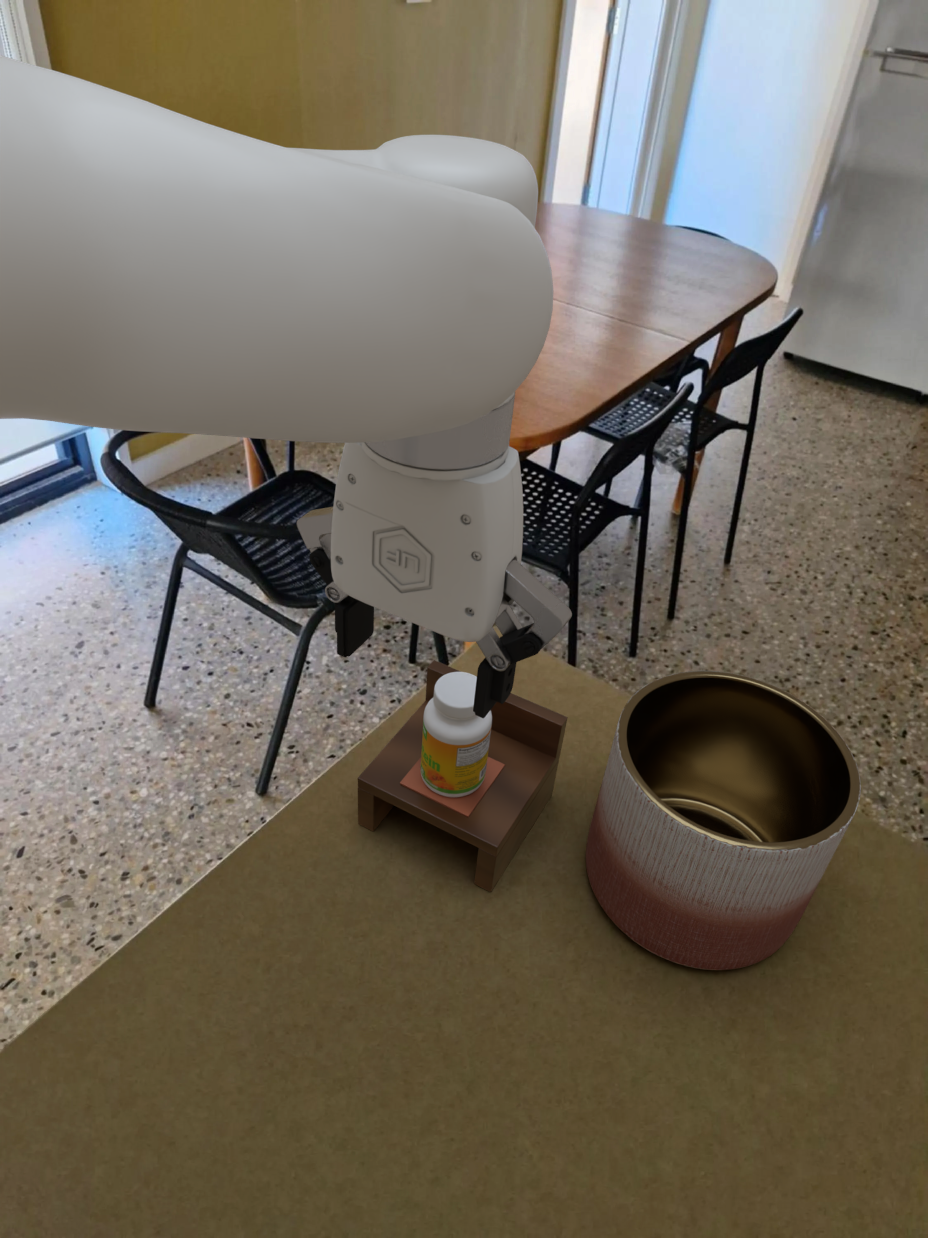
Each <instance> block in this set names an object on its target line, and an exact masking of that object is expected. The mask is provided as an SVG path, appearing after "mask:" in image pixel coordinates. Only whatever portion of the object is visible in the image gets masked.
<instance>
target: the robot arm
mask: <svg viewBox="0 0 928 1238" xmlns="http://www.w3.org/2000/svg"><path fill="white" fill-rule="evenodd" d="M538 201H539V185H538V179H537V175H536V173H535V169H534V167H533V165H532V164H531V162H530V161H529V160H528V159H527V157H525V155H524V154H522V153H521V152H519V151H517V150H515V149H513V148H511V147H509V146H507V145H504V144H502V143H499V142H496V141H495V142H494V141H491V140H487V139H481V138H476V137H469V136H460V135H449V134H414V135H413V134H411V135H405V136H401V137H397V138H393V139H390V140H388V141H385V142H384V143H382V144H381V145H379V146H378V147H377V148H375V149H318V148H317V149H316V148H303V147H285V146H282V145H278V144H275V143H272V142H269V141H265V140H261V139H258V138H255V137H251V136H248V135H245V134H242V133H239V132H235V131H232V130H229V129H226V128H223V127H221V126H216V125H214V124H210V123H207V122H204V121H202V120H199V119H196V118H193V117H190V116H188V115H185V114H182V113H179V112H176V111H174V110H171V109H168V108H165V107H163V106H160V105H158V104H155V103H153V102H150V101H147V100H144V99H142V98H139V97H136V96H133V95H130V94H127V93H125V92H121V91H118V90H115V89H112V88H111V87H106V86H103V85H101V84H98V83H95V82H92V81H89V80H86V79H83V78H81V77H78V76H74V75H71V74H67V73H63V72H61V71H57V70H53V69H51V68H48V67H47V68H46V67H42V66H39V65H35V64H33V63H32V64H31V63H28V62H25V61H21V60H18V59H15V58H11V57H8V56H6V55H5V56H4V55H2V54H0V420H10V419H11V420H13V419H15V420H16V419H17V420H18V419H27V420H37V421H46V422H47V421H48V422H54V423H60V424H61V423H62V424H67V425H74V426H75V425H76V426H83V427H89V428H99V429H108V430H117V431H118V430H119V431H129V432H145V433H146V432H149V433H170V434H189V435H201V436H202V435H204V436H218V437H219V436H220V437H233V438H244V439H245V438H246V439H258V440H259V439H260V440H272V441H287V442H302V443H303V442H304V443H323V444H324V443H325V444H327V443H329V444H331V443H333V444H337V443H338V444H344V445H343V448H342V453H341V457H340V462H339V466H338V472H337V477H336V483H335V490H334V498H333V506H328V507H323V508H317V509H311V510H309V511H307V513H305V514H303V515H302V516H301V517H300V518H298V519H297V521H296V527H297V530H298V532H299V534H300V536H301V538H302V540H303V543H304V545H305V547H306V549H307V550H309V553H310V554H309V556H308V557H309V558H308V559H309V563H310V564H311V566H312V567H313V569H314V570H315V571H316V572H317V573H318V575H319V576H320V577H321V579H322V580H323V582H324V584H326V587H324V593H325V596H326V597H327V599H328V600H329V601H330V602H333V603H334V631H335V633H336V654H337V655H338V656H340V657H343V658H347V657H348V658H349V657H351V656H352V655H353V654H354V653H355V652H357V650H358V649H359V648H360V647H362V645H363V644H365V643H366V641H368V640H369V639H370V638H371V637H372V636H373V634H374V631H375V630H374V629H375V609H378V610H381V611H382V612H385V613H388V614H389V615H392V616H395V617H397V618H399V619H402V620H404V621H406V622H410V623H412V624H415V625H416V626H419V627H422V628H424V629H427V630H429V631H432V632H434V633H437V634H439V635H441V636H444V637H447V638H449V639H451V640H452V639H453V640H454V641H455V640H456V641H459V642H465V643H476V645H477V646H478V648H479V649H480V651H481V653H482V654H483V656H484V658H483V659H482V661H481V662H480V663H479V665H478V667H477V673H476V676H477V680H476V689H475V697H474V706H473V712H475V715H477V716H479V717H481V718H485V716H486V715H487V714H488V713H489V711H490V710H491V709H492V707H493V706H494V705H495V704H496V702H499V703H501V704H503V703H504V702H505V701H506V699H507V698H508V697H509V695H510V693H512V690H513V687H514V681H515V675H516V668H517V663H518V662H521V661H523V660H526V659H529V658H531V657H534V656H536V655H538V654H539V652H540V651H541V650H542V649H543V648H545V646H547V645H548V644H549V643H550V642H551V641H552V640H553V639H554V638H555V637H557V635H559V634H560V632H562V630H563V629H564V627H566V625H567V624H568V622H569V621H570V620H571V618H572V617H573V613H572V610H571V609H570V607H569V606H568V605H567V604H566V603H564V602H563V601H562V600H561V599H560V598H559V597H558V596H557V595H555V593H553V592H552V591H551V590H550V589H549V588H548V587H547V586H545V584H543V583H542V581H540V580H539V579H538V578H537V577H535V576H534V575H533V574H532V573H531V572H530V571H529V570H527V568H525V566H523V564H522V555H523V541H524V540H523V539H524V497H523V496H524V495H523V494H524V492H523V482H522V479H523V478H522V471H521V462H520V456H519V451H518V450H517V449H515V448H514V447H512V446H510V441H511V432H512V424H513V423H512V422H513V415H514V408H515V407H514V406H515V399H516V391H517V390H518V389H519V387H520V386H521V385H522V384H523V383H524V381H525V380H526V379H527V377H528V376H529V374H530V373H531V371H532V370H533V368H534V366H535V365H536V363H537V361H538V359H539V358H540V355H541V353H542V350H543V349H544V346H545V344H546V340H547V336H548V334H549V331H550V327H551V320H552V316H553V310H554V282H553V281H554V280H553V271H552V267H551V263H550V259H549V254H548V251H547V249H546V247H545V243H544V242H543V240H542V237H541V235H540V233H538V230H536V221H537V214H538V203H539V202H538ZM514 602H515V603H516V604H517V605H518V606H519V607H520V608H521V609H522V610H524V611H525V612H526V613H527V614H528V615H529V616H530V617H531V618H532V620H533V623H530V624H527V625H526V626H522V624H521V622H520V620H519V618H518V616H517V615H516V613H515V612H514V610H513V608H512V607H511V606H512V604H514ZM494 625H495V626H496V627H497V629H498V631H499V632H500V634H501V636H500V637H499V635H498V633H497V631H496V629H495V628H494Z"/></svg>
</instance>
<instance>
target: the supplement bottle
mask: <svg viewBox="0 0 928 1238" xmlns="http://www.w3.org/2000/svg"><path fill="white" fill-rule="evenodd" d="M476 680H477V675H475V674H472V673H470V672H465V671H461V672H452V673H448V674H445V675H443V676H442V677H441V678H439V679H438V681H437V682H436V684H435V687H434V697H433V698H432V699H431V700H430V701H429V702H428V704H427V705H426V707H425V710H424V718H423V736H422V753H421V776H422V779H423V781H424V783H425V784H426V785H427V787H428V788H430V789H431V790H432V791H434V792H435V793H437V794H439V795H442V796H446V797H462V796H466V795H469V794H471V793H473V792H474V791H476V790H477V789H478V788H479V787H480V786H481V784H482V783H483V781H484V778H485V773H486V766H487V758H488V750H489V742H490V734H491V726H492V714H491V710H490V711H489V713H488V714H487V715H486V716H485V718H481V717H479V716H477V715H475V712H473V706H474V697H475V689H476Z"/></svg>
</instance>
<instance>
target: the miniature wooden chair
mask: <svg viewBox="0 0 928 1238" xmlns="http://www.w3.org/2000/svg"><path fill="white" fill-rule="evenodd" d="M452 672H462V670H459V669H456V668H453V667H451V666H449V665H448V664H445V663H442V662H440V661H439V660H438V661H437V660H435V659H433V661H432V662H431V663H430V664H429V665H428V666H427V667H426V685H425V700H424V701H423V703H422V704H421V705H420V706H419V707H418V708H417V709H416V710H415V712H414V713H413V714H412V715H411V716H410V717H409V718H408V720H407V721H406V722H405V723H404V724H403V725H402V726H401V728H399V730H398V731H397V732H396V733H395V734H394V735H393V737H392V738H391V739H390V741H389V742H388V743H386V745H385V746H384V747H383V748H382V749H381V751H380V752H379V753H378V754H377V755H376V756H375V758H374V759H373V760H372V761H371V762H370V763H369V764H368V765H367V767H366V768H365V769H364V770H363V771H362V772H361V774H360V775H358V777H357V824H358V825H360V826H362V827H363V828H365V829H367V830H369V831H371V832H374V831H376V829H377V828H378V826H379V825H380V824H381V823H382V821H383V820H384V819H385V818H386V817H387V815H388V814H389V813H390V811H392V809H393V808H394V807H397V808H398V809H400V810H402V811H404V812H406V813H408V814H410V815H412V816H414V817H416V818H417V819H420V820H422V821H424V822H426V823H428V824H430V825H432V826H434V827H436V828H438V829H440V830H441V831H444V832H446V833H447V834H449V835H452V836H454V837H456V838H458V839H460V840H462V841H463V842H466V843H468V844H470V845H472V846H474V847H476V848H477V849H478V851H477V858H476V866H475V874H474V881H473V884H474V885H475V886H477V887H479V888H481V889H483V890H485V891H487V892H489V893H491V892H492V891H493V890H494V888H495V887H496V885H497V883H498V882H499V881H500V879H501V877H502V876H503V874H504V872H505V871H506V869H507V867H509V864H510V863H511V861H512V860H513V858H514V857H515V855H516V853H517V852H518V850H519V848H520V847H521V845H522V844H523V842H524V840H525V839H526V837H527V836H528V834H529V832H530V831H531V829H532V828H533V826H534V824H535V822H537V820H538V818H539V816H540V815H541V813H542V812H543V810H544V809H545V807H546V805H547V803H548V802H549V801H550V799H551V797H552V796H553V792H554V787H555V783H556V782H555V781H556V777H557V772H558V768H559V767H558V766H559V762H560V757H561V752H562V747H563V742H564V738H565V733H566V728H567V723H568V719H569V718H568V716H566V715H563V714H561V713H559V712H557V711H554V710H551V709H549V708H547V707H545V706H542V705H541V704H538V703H535V702H533V701H531V700H529V699H525V698H523V697H522V696H519V695H517V694H515V693H512V692H511V693H510V695H509V697H508V698H507V699H506V701H505V702H504V703H503V704H501V703H499V702H496V704H495V705H494V706H493V707H492V709H491V714H492V726H491V734H490V742H489V750H488V758H487V766H486V773H485V778H484V781H483V783H482V784H481V786H480V787H479V788H478V789H477V790H476V791H474V792H473V793H471V794H469V795H466V796H462V797H446V796H442V795H439V794H437V793H435V792H434V791H432V790H431V789H430V788H428V787H427V785H426V784H425V783H424V781H423V779H422V776H421V753H422V736H423V718H424V710H425V707H426V705H427V704H428V702H429V701H430V700H431V699H432V698H433V697H434V687H435V684H436V682H437V681H438V679H439V678H441V677H442V676H443V675H445V674H448V673H452Z"/></svg>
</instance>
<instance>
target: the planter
mask: <svg viewBox="0 0 928 1238" xmlns="http://www.w3.org/2000/svg"><path fill="white" fill-rule="evenodd" d="M861 785H862V783H861V776H860V772H859V767H858V764H857V762H856V759H855V757H854V755H853V753H852V751H851V749H850V747H849V746H848V744H847V743H846V741H845V740H844V738H843V737H842V735H841V734H840V733H839V732H838V730H837V729H836V728H835V727H834V726H833V725H832V724H831V723H830V722H829V721H828V720H827V719H826V718H825V717H824V716H823V715H822V714H820V713H819V712H818V711H816V709H814V708H813V707H812V706H811V705H809V704H808V703H806V702H805V701H803V700H801V699H800V698H798V697H796V696H795V695H793V694H792V693H790V692H788V691H786V690H784V689H781V688H780V687H778V686H775V685H773V684H770V683H768V682H766V681H763V680H760V679H758V678H757V679H756V678H754V677H751V676H746V675H743V674H739V673H738V674H737V673H733V672H726V671H719V670H718V671H717V670H688V671H681V672H676V673H672V674H668V675H665V676H661V677H659V678H657V679H655V680H652V681H651V682H649V683H647V684H646V685H644V686H642V687H640V689H638V690H637V691H636V692H634V694H633V695H632V696H631V697H630V698H629V699H628V700H627V702H626V703H625V705H624V707H623V708H622V710H621V712H620V715H619V718H618V721H617V723H616V728H615V732H614V736H613V739H612V744H611V748H610V751H609V755H608V758H607V763H606V766H605V770H604V773H603V778H602V781H601V785H600V789H599V791H598V795H597V799H596V801H595V806H594V809H593V814H592V817H591V821H590V825H589V829H588V834H587V838H586V847H585V867H586V868H585V869H586V873H587V877H588V881H589V883H590V884H589V885H590V887H591V890H592V892H593V894H594V896H595V898H596V900H597V902H598V903H599V905H600V907H601V908H602V910H603V912H605V914H606V916H608V918H609V919H610V920H611V921H612V922H613V924H614V925H615V926H616V927H617V928H618V929H619V930H620V931H621V932H622V933H624V934H625V935H626V936H627V937H628V938H629V939H631V940H632V941H633V942H634V943H636V944H637V945H639V946H640V947H642V948H643V949H645V950H647V951H648V952H650V953H652V954H654V955H655V956H658V957H660V958H662V959H665V960H667V961H668V962H671V963H675V964H677V965H681V966H684V967H688V968H694V969H700V970H708V971H728V970H736V969H742V968H746V967H749V966H752V965H755V964H758V963H760V962H762V961H764V960H766V959H768V958H769V957H771V956H772V955H773V954H775V953H776V952H777V951H778V950H779V949H781V948H782V946H784V944H786V942H787V941H788V939H789V938H790V937H791V936H792V935H793V932H794V931H795V929H796V928H797V926H798V924H799V923H800V921H801V919H802V917H803V916H804V914H805V911H806V910H807V908H808V905H809V904H810V902H811V900H812V898H813V896H814V894H815V892H816V890H817V888H818V886H819V884H820V882H821V881H822V878H823V877H824V874H825V872H826V871H827V869H828V866H829V864H830V862H831V860H832V858H833V857H834V855H835V853H836V851H837V849H838V847H839V845H840V843H841V841H842V839H843V838H844V836H845V834H846V832H847V830H848V828H849V826H850V824H851V822H852V820H853V819H854V817H855V815H856V813H857V810H858V807H859V804H860V799H861V792H862V789H861V788H862V787H861Z"/></svg>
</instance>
